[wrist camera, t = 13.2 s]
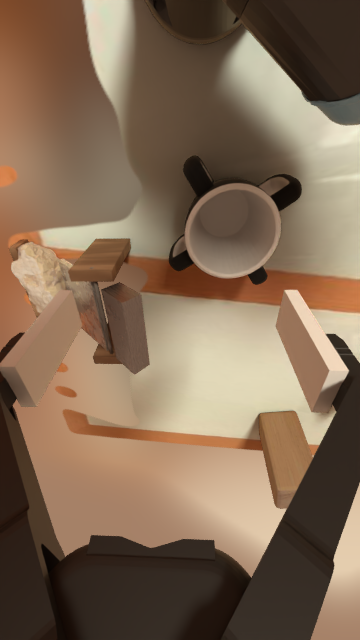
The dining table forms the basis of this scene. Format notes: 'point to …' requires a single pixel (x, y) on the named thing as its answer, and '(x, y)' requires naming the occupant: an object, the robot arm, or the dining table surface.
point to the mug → (232, 223)
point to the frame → (95, 279)
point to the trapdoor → (112, 318)
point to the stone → (38, 273)
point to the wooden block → (284, 453)
